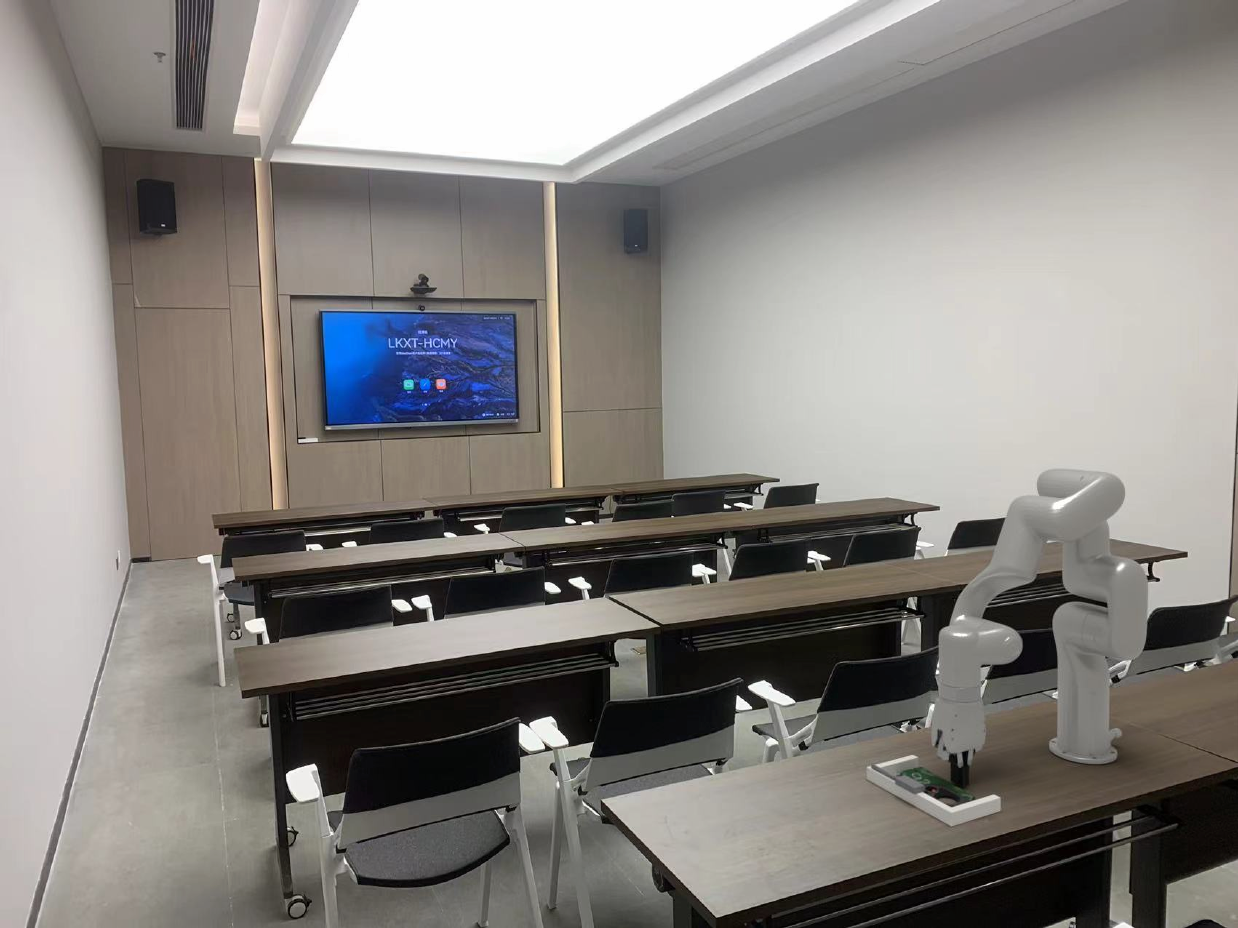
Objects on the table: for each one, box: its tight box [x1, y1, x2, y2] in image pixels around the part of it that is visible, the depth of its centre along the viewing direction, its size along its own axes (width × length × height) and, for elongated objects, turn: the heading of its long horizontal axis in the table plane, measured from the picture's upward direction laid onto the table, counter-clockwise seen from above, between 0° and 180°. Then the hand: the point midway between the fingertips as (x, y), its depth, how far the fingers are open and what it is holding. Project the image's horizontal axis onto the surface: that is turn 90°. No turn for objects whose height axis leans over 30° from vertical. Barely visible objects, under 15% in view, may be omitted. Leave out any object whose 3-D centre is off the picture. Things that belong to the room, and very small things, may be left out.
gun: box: [899, 766, 977, 807], centre depth 171 cm, size 16×1×10 cm
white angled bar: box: [866, 754, 1002, 827], centre depth 169 cm, size 12×22×4 cm, turn 25°
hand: (959, 783), depth 172 cm, fingers closed
